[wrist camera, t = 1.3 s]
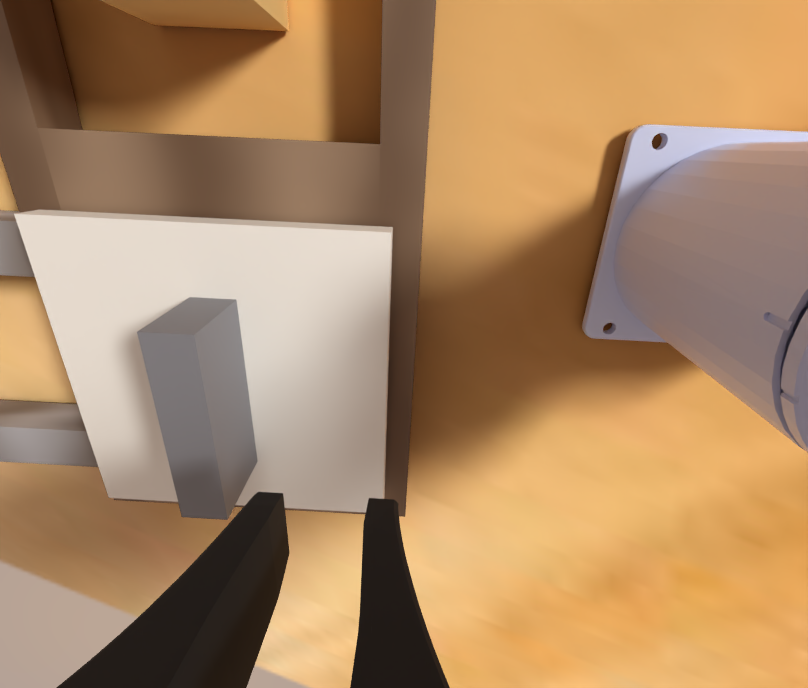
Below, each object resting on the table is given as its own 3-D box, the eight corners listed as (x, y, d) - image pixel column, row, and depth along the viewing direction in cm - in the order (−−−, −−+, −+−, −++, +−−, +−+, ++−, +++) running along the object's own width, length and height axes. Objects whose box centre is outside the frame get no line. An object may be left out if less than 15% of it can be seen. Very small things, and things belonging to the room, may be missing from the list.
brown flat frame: (463, -475, 10) (472, -618, 8) (406, 485, 22) (405, 516, 20) (-633, -510, 10) (-864, -653, 8) (-88, 458, 22) (-132, 485, 21)
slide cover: (392, 226, 14) (384, 254, 11) (384, 496, 19) (376, 577, 16) (39, 209, 14) (-89, 230, 11) (123, 481, 19) (55, 558, 16)
